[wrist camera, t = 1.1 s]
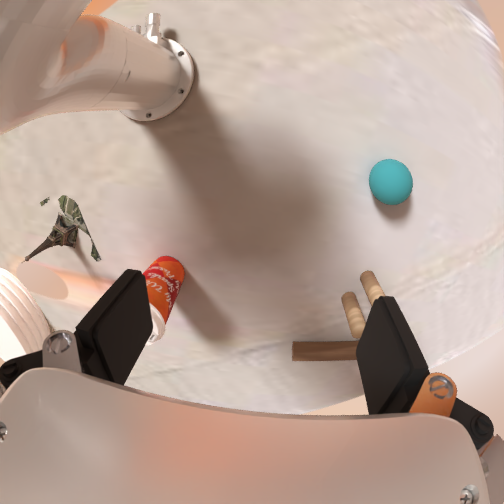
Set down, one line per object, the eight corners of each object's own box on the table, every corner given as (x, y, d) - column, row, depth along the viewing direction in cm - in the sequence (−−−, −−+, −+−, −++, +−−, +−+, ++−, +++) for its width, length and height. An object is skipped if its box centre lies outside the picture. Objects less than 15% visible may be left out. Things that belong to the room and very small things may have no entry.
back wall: (293, 341, 49) (293, 353, 46) (402, 338, 47) (406, 348, 45) (292, 349, 50) (292, 360, 47) (399, 345, 48) (403, 356, 45)
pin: (342, 291, 43) (353, 326, 36) (356, 291, 43) (369, 325, 36) (340, 303, 45) (350, 338, 37) (353, 303, 44) (365, 338, 37)
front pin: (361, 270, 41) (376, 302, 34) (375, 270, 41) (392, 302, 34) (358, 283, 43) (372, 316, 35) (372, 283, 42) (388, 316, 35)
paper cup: (199, 268, 44) (171, 326, 31) (178, 298, 47) (149, 356, 34) (158, 240, 42) (116, 289, 30) (140, 273, 45) (101, 324, 33)
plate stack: (-7, 311, 60) (-26, 331, 49) (-13, 248, 48) (-40, 268, 38) (51, 362, 64) (34, 387, 54) (53, 308, 53) (27, 338, 43)
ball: (365, 154, 34) (380, 160, 28) (403, 159, 33) (423, 166, 28) (361, 196, 36) (375, 209, 31) (398, 199, 36) (416, 212, 31)
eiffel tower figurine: (104, 259, 45) (62, 301, 33) (70, 269, 47) (31, 307, 35) (72, 183, 39) (18, 208, 27) (41, 201, 41) (-8, 228, 29)
